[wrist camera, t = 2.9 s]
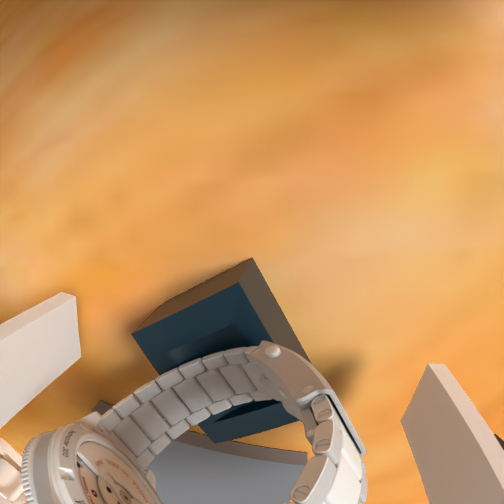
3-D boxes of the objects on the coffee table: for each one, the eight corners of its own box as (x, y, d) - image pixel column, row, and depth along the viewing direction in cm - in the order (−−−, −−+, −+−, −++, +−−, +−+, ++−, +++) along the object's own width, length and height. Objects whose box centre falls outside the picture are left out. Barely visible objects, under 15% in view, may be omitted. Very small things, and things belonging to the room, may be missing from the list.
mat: (100, 400, 15) (91, 410, 14) (307, 452, 14) (307, 465, 13) (123, 496, 18) (119, 504, 17) (266, 533, 17) (265, 542, 16)
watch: (132, 318, 13) (-43, 482, 3) (293, 236, 12) (280, 573, 1) (197, 409, 14) (111, 598, 3) (351, 352, 12) (406, 611, 2)
